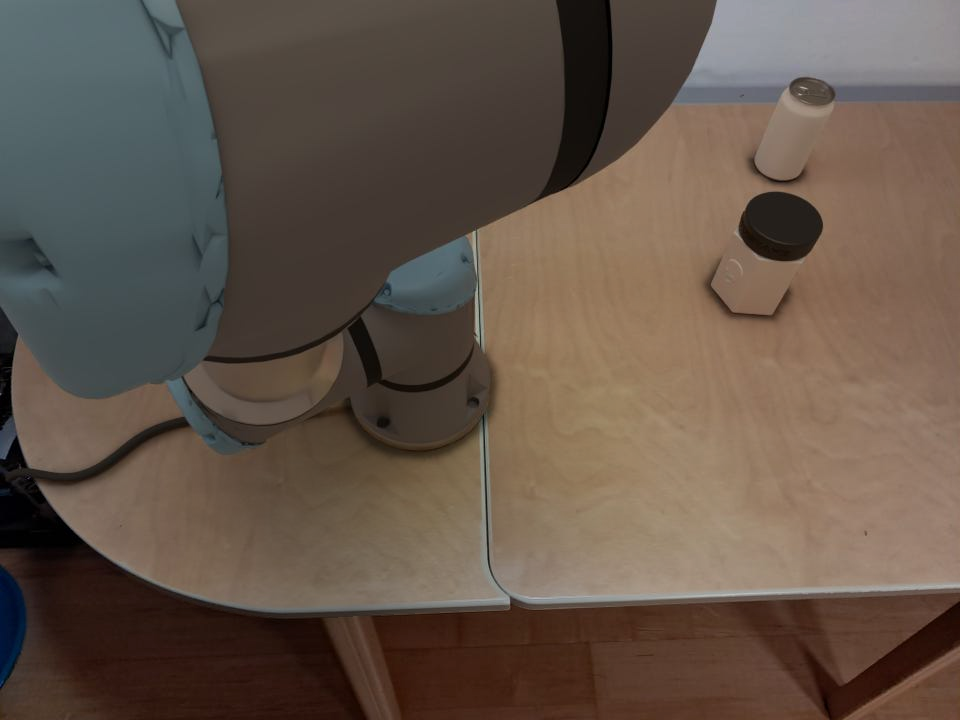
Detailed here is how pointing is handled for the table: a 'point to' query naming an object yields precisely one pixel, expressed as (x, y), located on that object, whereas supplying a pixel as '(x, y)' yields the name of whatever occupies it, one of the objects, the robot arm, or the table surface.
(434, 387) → the robot arm
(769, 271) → the jar
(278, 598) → the table surface
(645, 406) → the table surface
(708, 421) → the table surface
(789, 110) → the can
